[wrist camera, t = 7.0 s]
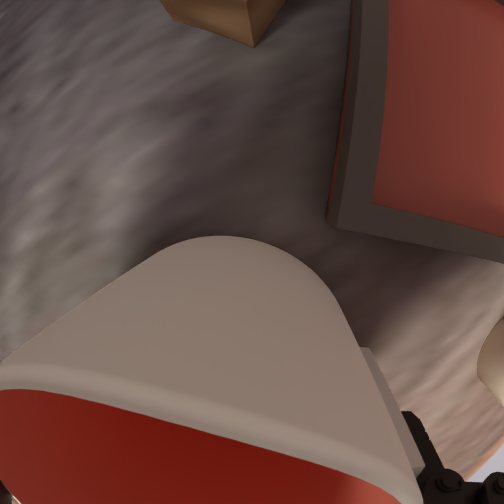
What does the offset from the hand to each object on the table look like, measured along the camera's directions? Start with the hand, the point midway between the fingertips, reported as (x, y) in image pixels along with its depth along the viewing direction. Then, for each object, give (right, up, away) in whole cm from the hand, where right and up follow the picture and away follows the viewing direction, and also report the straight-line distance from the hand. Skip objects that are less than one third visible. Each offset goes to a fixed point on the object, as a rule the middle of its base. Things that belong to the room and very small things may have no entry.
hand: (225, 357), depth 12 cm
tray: (+12, +12, -2) cm, 17 cm away
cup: (0, 0, +1) cm, 2 cm away
